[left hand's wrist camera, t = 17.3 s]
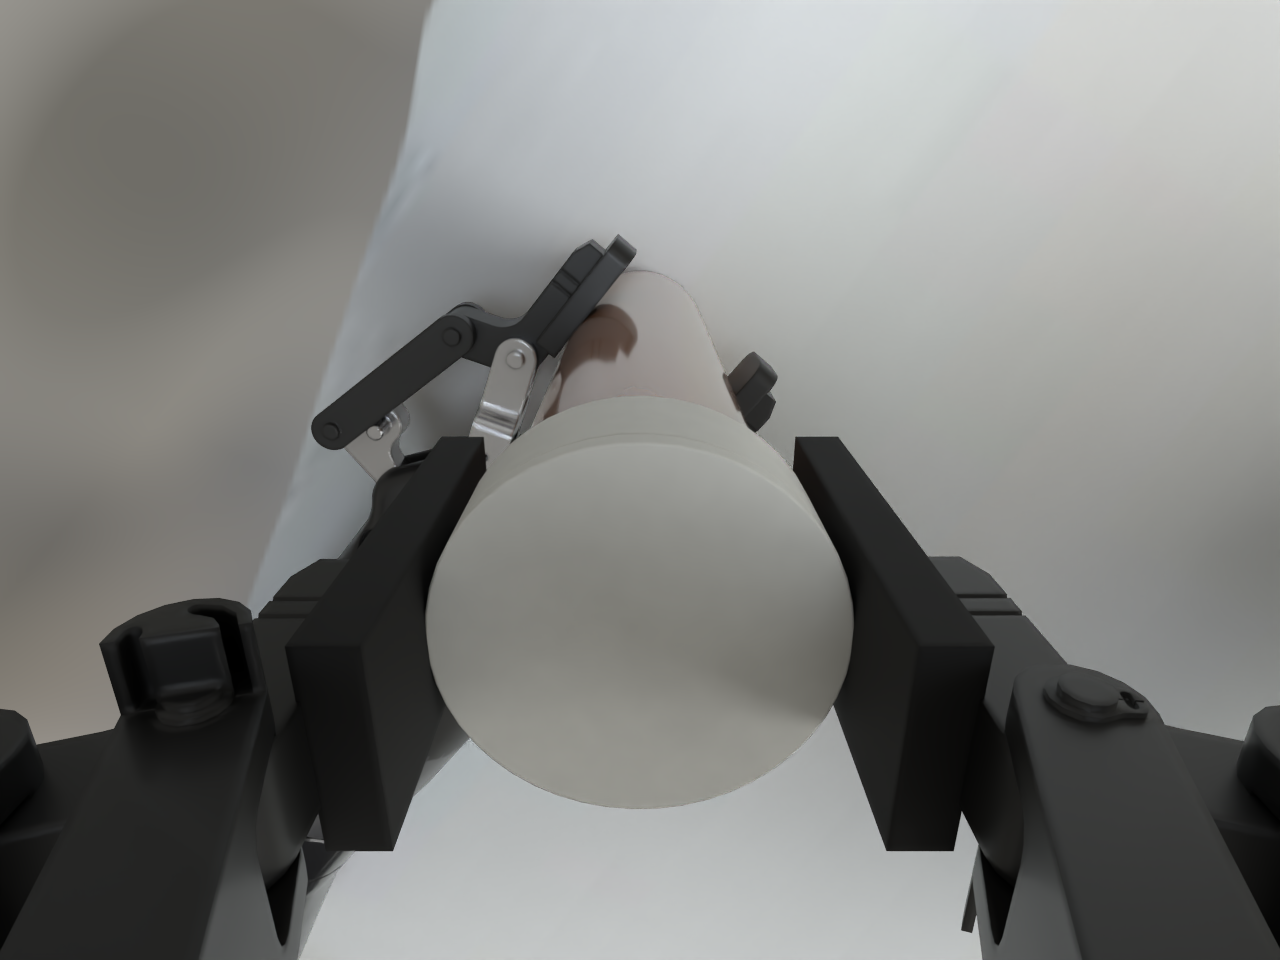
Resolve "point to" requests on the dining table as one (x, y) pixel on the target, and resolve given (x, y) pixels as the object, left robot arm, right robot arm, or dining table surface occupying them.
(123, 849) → the left robot arm
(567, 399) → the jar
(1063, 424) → the dining table surface
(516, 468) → the lid
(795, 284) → the dining table surface
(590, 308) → the right robot arm
